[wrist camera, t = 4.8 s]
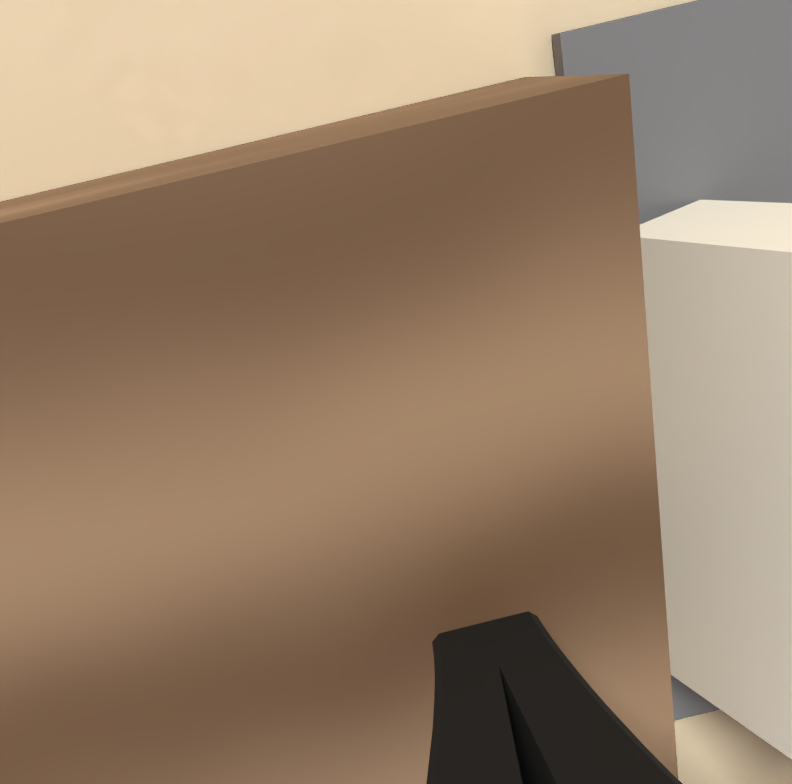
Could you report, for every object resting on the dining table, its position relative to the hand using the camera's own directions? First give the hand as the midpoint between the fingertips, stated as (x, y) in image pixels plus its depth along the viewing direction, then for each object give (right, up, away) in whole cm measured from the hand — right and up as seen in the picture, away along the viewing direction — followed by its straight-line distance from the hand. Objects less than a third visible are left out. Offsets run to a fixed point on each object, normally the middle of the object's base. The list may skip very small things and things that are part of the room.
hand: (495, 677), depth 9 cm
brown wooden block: (-3, +1, +4) cm, 6 cm away
